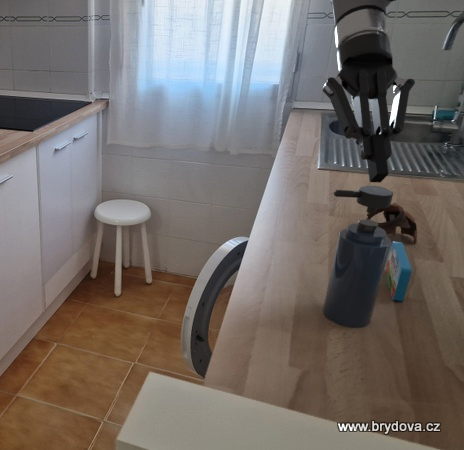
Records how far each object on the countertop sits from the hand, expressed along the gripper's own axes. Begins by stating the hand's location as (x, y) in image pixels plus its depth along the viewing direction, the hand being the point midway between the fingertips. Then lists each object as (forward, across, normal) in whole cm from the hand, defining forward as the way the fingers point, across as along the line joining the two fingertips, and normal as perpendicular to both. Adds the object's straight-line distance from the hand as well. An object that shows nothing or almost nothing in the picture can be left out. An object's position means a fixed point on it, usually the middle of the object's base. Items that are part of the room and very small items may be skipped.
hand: (378, 178), depth 78 cm
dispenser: (+17, 0, -16) cm, 23 cm away
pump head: (+4, +2, -4) cm, 6 cm away
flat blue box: (+9, -11, -25) cm, 29 cm away
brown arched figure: (-7, -19, -41) cm, 45 cm away
